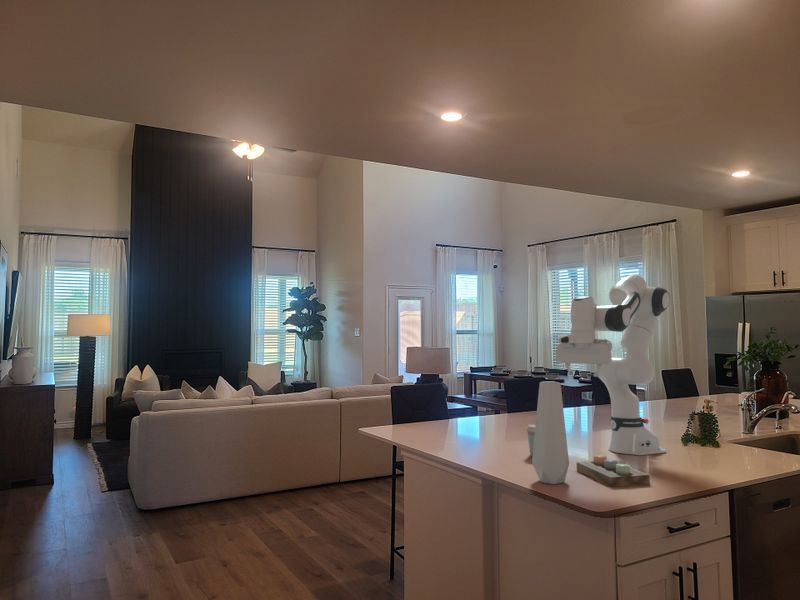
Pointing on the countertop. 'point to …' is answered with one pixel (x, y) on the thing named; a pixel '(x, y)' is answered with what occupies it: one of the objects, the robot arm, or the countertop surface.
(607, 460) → the button grey
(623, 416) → the robot arm
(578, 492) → the countertop surface
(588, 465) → the panel
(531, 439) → the coffee cup
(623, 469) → the button sage
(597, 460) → the button terracotta
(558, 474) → the white faceted column
